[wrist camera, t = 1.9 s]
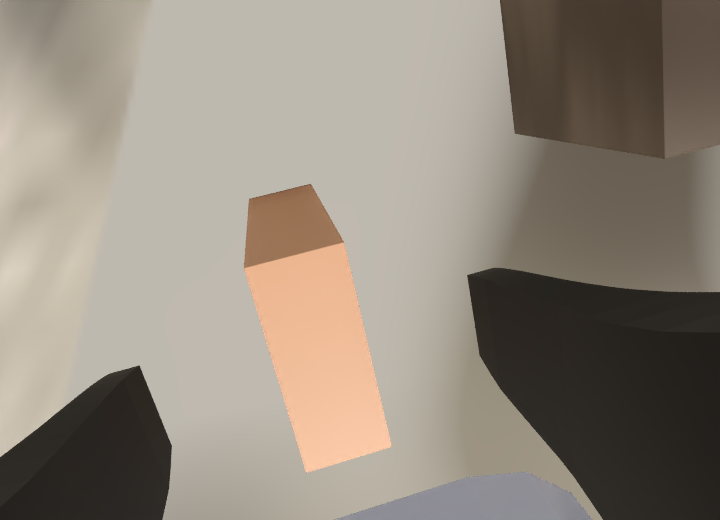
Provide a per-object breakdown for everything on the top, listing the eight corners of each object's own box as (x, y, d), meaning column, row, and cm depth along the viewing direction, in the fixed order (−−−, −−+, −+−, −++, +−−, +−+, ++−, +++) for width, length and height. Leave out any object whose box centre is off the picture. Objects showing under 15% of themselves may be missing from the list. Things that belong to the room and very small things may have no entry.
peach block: (344, 322, 19) (391, 446, 12) (288, 337, 19) (306, 472, 12) (310, 184, 17) (344, 242, 11) (248, 199, 17) (243, 268, 10)
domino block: (570, 119, 18) (749, 136, 12) (515, 133, 18) (665, 158, 11) (557, -45, 16) (758, -135, 10) (496, -32, 16) (659, -115, 10)
